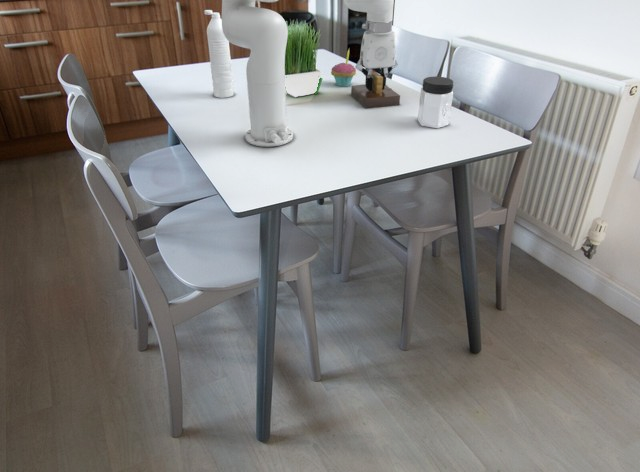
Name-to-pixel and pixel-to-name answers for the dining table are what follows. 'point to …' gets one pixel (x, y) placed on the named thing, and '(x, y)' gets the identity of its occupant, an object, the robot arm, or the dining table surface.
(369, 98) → the plate
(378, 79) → the tap handle
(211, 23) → the water bottle
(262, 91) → the robot arm
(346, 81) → the cupcake
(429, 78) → the jar
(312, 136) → the dining table surface
